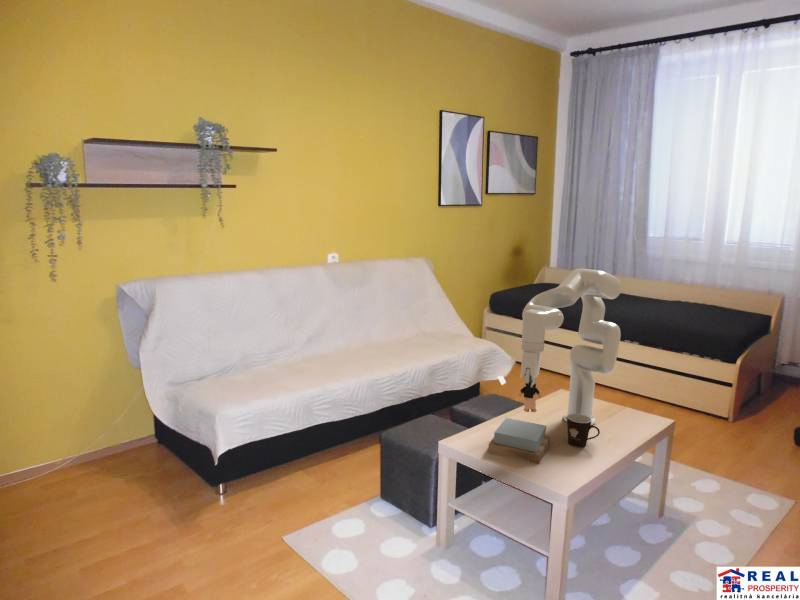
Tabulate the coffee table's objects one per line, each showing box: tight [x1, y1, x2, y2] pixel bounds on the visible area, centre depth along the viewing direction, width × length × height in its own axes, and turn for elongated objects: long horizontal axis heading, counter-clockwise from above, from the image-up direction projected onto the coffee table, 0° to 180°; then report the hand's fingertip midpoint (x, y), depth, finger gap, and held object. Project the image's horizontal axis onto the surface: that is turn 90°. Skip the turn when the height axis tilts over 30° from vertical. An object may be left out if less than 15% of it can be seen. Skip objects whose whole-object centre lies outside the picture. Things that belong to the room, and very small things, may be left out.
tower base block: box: [487, 434, 551, 465], centre depth 201 cm, size 18×18×4 cm
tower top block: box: [493, 417, 547, 452], centre depth 200 cm, size 15×15×4 cm
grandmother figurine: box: [518, 377, 542, 413], centre depth 195 cm, size 8×4×13 cm, turn 93°
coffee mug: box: [566, 414, 601, 448], centre depth 203 cm, size 12×9×10 cm
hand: (529, 395), depth 195 cm, fingers closed on grandmother figurine, 2 cm apart
